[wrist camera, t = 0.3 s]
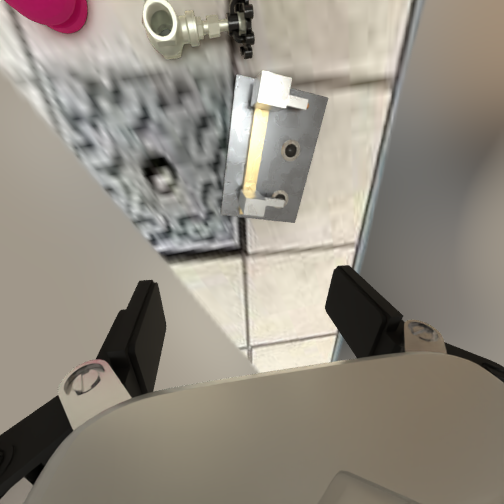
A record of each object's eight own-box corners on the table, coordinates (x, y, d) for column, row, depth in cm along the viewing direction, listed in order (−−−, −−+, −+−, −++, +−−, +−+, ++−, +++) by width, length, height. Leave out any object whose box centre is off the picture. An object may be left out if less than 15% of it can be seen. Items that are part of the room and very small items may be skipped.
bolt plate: (235, 76, 31) (244, 57, 24) (323, 99, 35) (357, 89, 27) (220, 212, 40) (223, 231, 32) (292, 220, 43) (310, 239, 36)
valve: (161, 76, 30) (248, 64, 31) (151, 63, 24) (257, 49, 25) (143, 8, 27) (240, -2, 28) (126, -26, 21) (248, -37, 22)
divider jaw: (252, 81, 30) (262, 70, 25) (306, 95, 32) (327, 87, 27) (248, 107, 32) (257, 101, 26) (301, 119, 34) (319, 116, 28)
